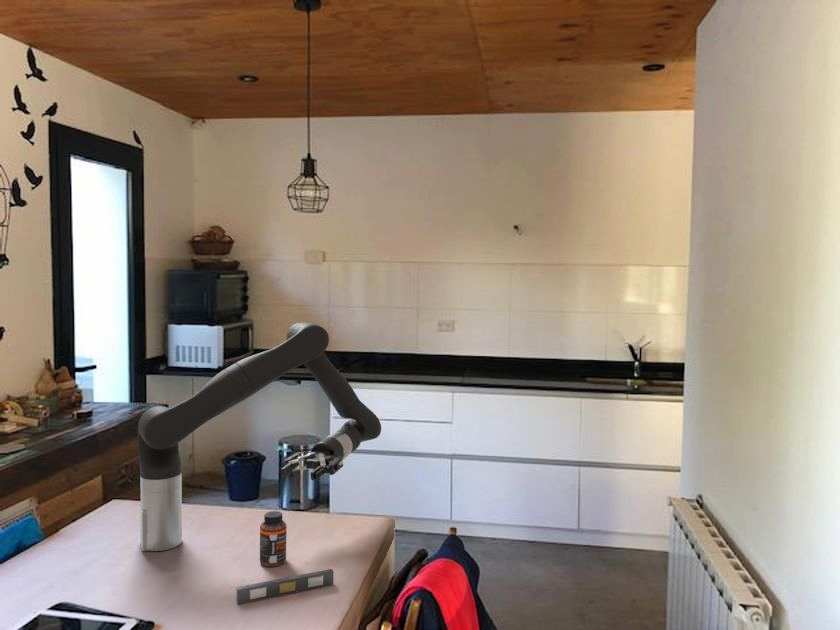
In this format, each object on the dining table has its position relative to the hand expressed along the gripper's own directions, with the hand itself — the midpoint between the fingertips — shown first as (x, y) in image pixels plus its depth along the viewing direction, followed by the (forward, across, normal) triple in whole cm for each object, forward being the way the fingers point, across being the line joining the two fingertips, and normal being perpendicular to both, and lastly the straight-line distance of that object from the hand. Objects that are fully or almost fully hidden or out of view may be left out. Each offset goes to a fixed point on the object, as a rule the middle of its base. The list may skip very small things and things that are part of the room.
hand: (297, 475), depth 157 cm
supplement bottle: (+12, -1, +16) cm, 20 cm away
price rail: (+22, +11, +15) cm, 29 cm away
